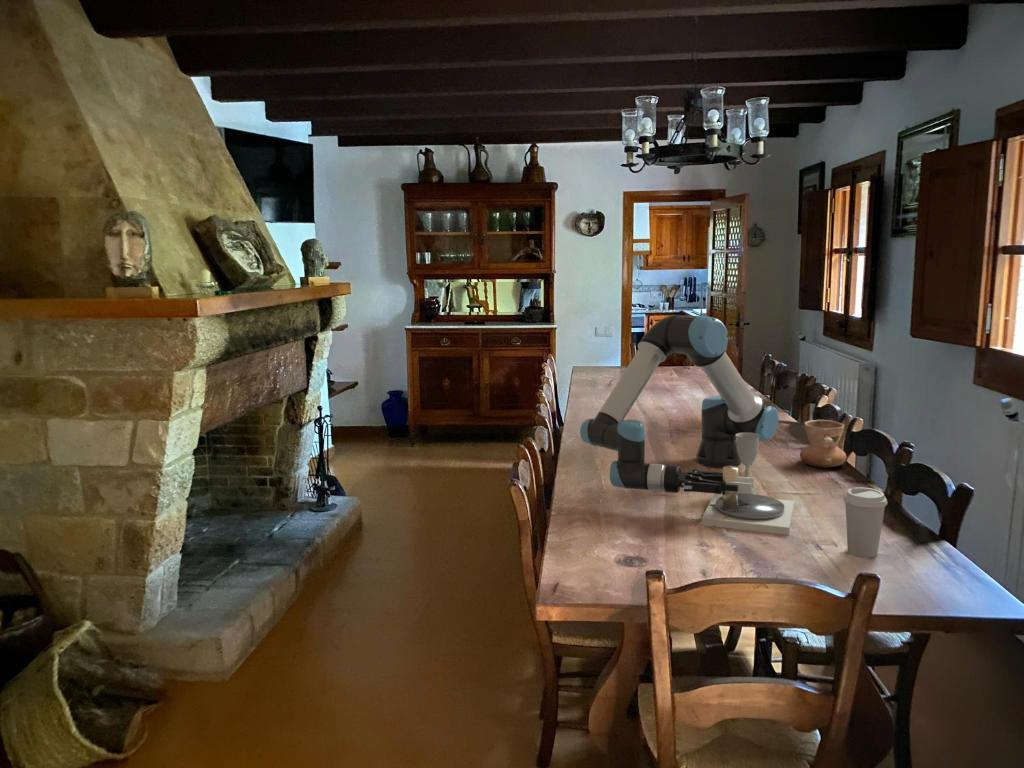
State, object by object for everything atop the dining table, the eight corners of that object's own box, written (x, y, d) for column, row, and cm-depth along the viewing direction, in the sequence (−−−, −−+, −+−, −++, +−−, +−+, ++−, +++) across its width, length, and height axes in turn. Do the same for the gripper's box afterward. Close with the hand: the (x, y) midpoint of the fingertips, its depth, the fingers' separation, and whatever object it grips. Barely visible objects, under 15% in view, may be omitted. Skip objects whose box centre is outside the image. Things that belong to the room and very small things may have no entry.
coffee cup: (871, 543, 185) (875, 485, 183) (892, 559, 176) (896, 498, 173) (833, 545, 185) (836, 487, 182) (852, 561, 176) (855, 499, 173)
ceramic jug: (850, 472, 243) (852, 430, 241) (803, 471, 246) (804, 429, 244) (840, 457, 260) (841, 417, 258) (795, 456, 264) (797, 417, 261)
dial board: (714, 499, 221) (714, 492, 221) (794, 507, 213) (794, 499, 212) (701, 525, 202) (701, 517, 201) (788, 535, 193) (789, 526, 192)
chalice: (742, 498, 222) (743, 438, 219) (729, 491, 228) (730, 433, 225) (763, 495, 224) (765, 436, 221) (750, 488, 230) (752, 431, 227)
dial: (703, 501, 213) (704, 460, 211) (759, 494, 217) (760, 454, 215) (738, 523, 196) (739, 478, 194) (798, 514, 200) (799, 470, 198)
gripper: (671, 482, 219) (755, 489, 210) (658, 500, 203) (748, 509, 194) (671, 457, 218) (755, 463, 209) (658, 474, 202) (749, 481, 193)
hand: (752, 485), depth 201 cm, fingers open, 4 cm apart
